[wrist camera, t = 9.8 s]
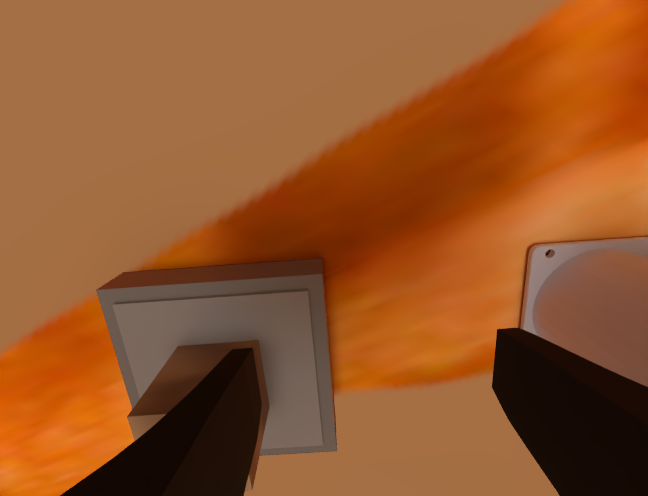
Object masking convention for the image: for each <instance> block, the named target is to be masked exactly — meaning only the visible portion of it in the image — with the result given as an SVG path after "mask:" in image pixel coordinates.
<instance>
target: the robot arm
mask: <svg viewBox="0 0 648 496" xmlns="http://www.w3.org/2000/svg"><path fill="white" fill-rule="evenodd" d="M548 250H550V253H549V254H548V255H546V256H545V253H546V251H548ZM492 388H493V390H494V392H495V394H496V396H497V398H498V400H499V402H500V404H501V406H502V408H503V410H504V412H505V414H506V416H507V418H508V419H509V421H510V423H511V424H512V426H513V427H514V429H515V430H516V432H517V433H518V435H519V436H520V438H521V439H522V441H523V442H524V444H525V445H526V447H527V448H528V450H529V451H530V453H531V454H532V456H533V457H534V458H535V460H536V461H537V463H538V464H539V466H540V467H541V469H542V470H543V472H544V473H545V475H546V476H547V477H548V479H549V480H550V482H551V483H552V485H553V486H554V488H555V489H556V490H557V492H558V494H559V495H560V496H648V236H646V237H632V238H618V239H604V240H590V241H576V242H562V243H548V244H537V245H534V246H533V247H532V248H531V249H530V251H529V255H528V264H527V273H526V282H525V290H524V299H523V308H522V317H521V326H520V328H509V329H497V339H496V349H495V360H494V371H493V382H492ZM261 408H262V401H261V395H260V389H259V383H258V376H257V370H256V364H255V358H254V352H253V348H241V349H232V350H231V351H230V352H229V353H228V354H227V355H226V356H225V357H224V358H223V359H222V360H221V361H220V362H219V363H218V364H217V365H216V366H215V367H214V368H213V369H212V370H211V371H210V372H209V373H208V375H207V376H206V377H205V378H204V379H203V380H202V381H201V382H200V383H199V384H198V385H197V386H196V387H195V388H194V389H193V390H192V391H191V392H190V393H189V394H188V395H186V396H185V397H184V398H183V399H182V400H181V401H180V402H179V403H178V404H177V405H176V406H175V407H173V408H172V409H171V410H170V411H169V412H168V413H167V414H166V415H165V416H164V417H163V418H161V419H160V420H159V421H158V422H157V423H156V424H155V425H154V426H152V427H151V428H150V429H149V430H148V431H147V432H145V433H144V434H143V435H142V436H141V437H139V438H138V439H137V440H136V441H134V442H133V443H132V444H131V445H129V446H128V447H127V448H125V449H124V450H123V451H122V452H120V453H119V454H118V455H117V456H115V457H114V458H113V459H111V460H110V461H109V462H107V463H106V464H104V465H103V466H102V467H100V468H99V469H97V470H96V471H94V472H93V473H92V474H90V475H89V476H87V477H86V478H85V479H83V480H82V481H80V482H79V483H77V484H76V485H75V486H73V487H72V488H70V489H69V490H67V491H66V492H65V493H63V494H62V495H60V496H244V491H245V488H246V484H247V480H248V476H249V472H250V468H251V464H252V460H253V456H254V451H255V447H256V443H257V439H258V432H259V425H260V416H261Z"/></svg>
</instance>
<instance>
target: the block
mask: <svg viewBox="0 0 648 496" xmlns="http://www.w3.org/2000/svg"><path fill="white" fill-rule="evenodd" d="M241 348H253V352H254V358H255V364H256V370H257V376H258V383H259V389H260V395H261V401H262V408H261V416H260V425H259V432H258V439H257V443H256V447H255V451H254V456H253V460H252V464H251V468H250V472H249V476H248V480H247V484H246V488H245V491H252V489H253V484H254V479H255V474H256V469H257V465H258V460H259V455H260V450H261V446H262V441H263V436H264V431H265V426H266V421H267V416H268V412H269V407H270V406H269V400H268V394H267V388H266V382H265V376H264V370H263V364H262V358H261V352H260V345H259V340H253V341H240V342H226V343H213V344H199V345H186V346H177V348H176V349H175V351H174V352H173V353H172V355H171V356H170V358H169V359H168V360H167V362H166V363H165V365H164V366H163V367H162V369H161V370H160V372H159V373H158V374H157V376H156V377H155V379H154V380H153V381H152V383H151V384H150V386H149V387H148V388H147V390H146V391H145V393H144V394H143V395H142V397H141V398H140V400H139V401H138V402H137V404H136V405H135V406H134V408H133V409H132V411H131V412H130V413H129V415H128V416H127V418H128V421H129V424H130V427H131V430H132V433H133V436H134V439H135V441H136V440H137V439H138V438H139V437H141V436H142V435H143V434H144V433H145V432H147V431H148V430H149V429H150V428H151V427H152V426H154V425H155V424H156V423H157V422H158V421H159V420H160V419H161V418H163V417H164V416H165V415H166V414H167V413H168V412H169V411H170V410H171V409H172V408H173V407H175V406H176V405H177V404H178V403H179V402H180V401H181V400H182V399H183V398H184V397H185V396H186V395H188V394H189V393H190V392H191V391H192V390H193V389H194V388H195V387H196V386H197V385H198V384H199V383H200V382H201V381H202V380H203V379H204V378H205V377H206V376H207V375H208V373H209V372H210V371H211V370H212V369H213V368H214V367H215V366H216V365H217V364H218V363H219V362H220V361H221V360H222V359H223V358H224V357H225V356H226V355H227V354H228V353H229V352H230V351H231V350H232V349H241Z"/></svg>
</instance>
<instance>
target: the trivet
mask: <svg viewBox="0 0 648 496" xmlns="http://www.w3.org/2000/svg"><path fill="white" fill-rule="evenodd" d="M96 291H97V294H98V297H99V301H100V304H101V307H102V310H103V314H104V317H105V320H106V324H107V327H108V330H109V333H110V337H111V340H112V343H113V346H114V350H115V353H116V356H117V360H118V363H119V366H120V369H121V373H122V376H123V379H124V382H125V386H126V389H127V392H128V396H129V399H130V402H131V405H132V409H133V408H134V406H135V405H136V404H137V402H138V401H139V400H140V398H141V397H142V395H143V394H144V393H145V391H146V390H147V388H148V387H149V386H150V384H151V383H152V381H153V380H154V379H155V377H156V376H157V374H158V373H159V372H160V370H161V369H162V367H163V366H164V365H165V363H166V362H167V360H168V359H169V358H170V356H171V355H172V353H173V352H174V351H175V349H176V348H177V346H186V345H199V344H213V343H226V342H240V341H253V340H259V345H260V352H261V358H262V364H263V370H264V376H265V382H266V388H267V394H268V400H269V406H270V407H269V412H268V416H267V421H266V426H265V431H264V436H263V441H262V446H261V450H260V455H259V456H262V455H279V454H296V453H313V452H329V451H330V452H331V451H337V442H336V420H335V407H334V394H333V382H332V370H331V358H330V346H329V333H328V321H327V309H326V297H325V284H324V272H323V260H322V258H319V259H305V260H291V261H277V262H263V263H249V264H235V265H221V266H207V267H193V268H179V269H165V270H151V271H137V272H123V273H122V274H120V275H118V276H117V277H115V278H114V279H112V280H111V281H109V282H108V283H106V284H105V285H103V286H102V287H100V288H99V289H97V290H96Z"/></svg>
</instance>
